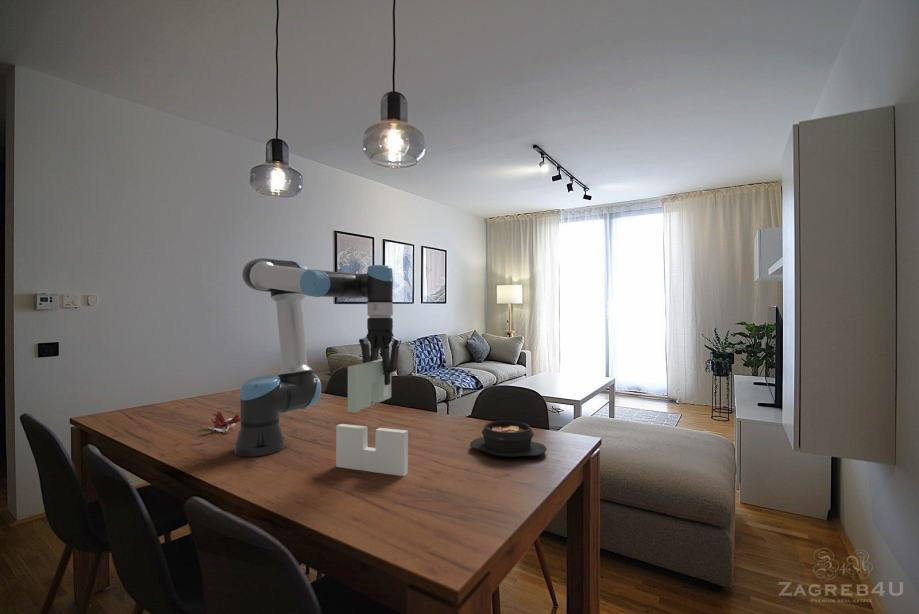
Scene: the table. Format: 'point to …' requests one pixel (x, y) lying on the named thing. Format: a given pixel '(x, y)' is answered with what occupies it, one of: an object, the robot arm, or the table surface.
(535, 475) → the table surface
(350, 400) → the green board
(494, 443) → the casserole
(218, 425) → the figurine
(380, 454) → the white board
